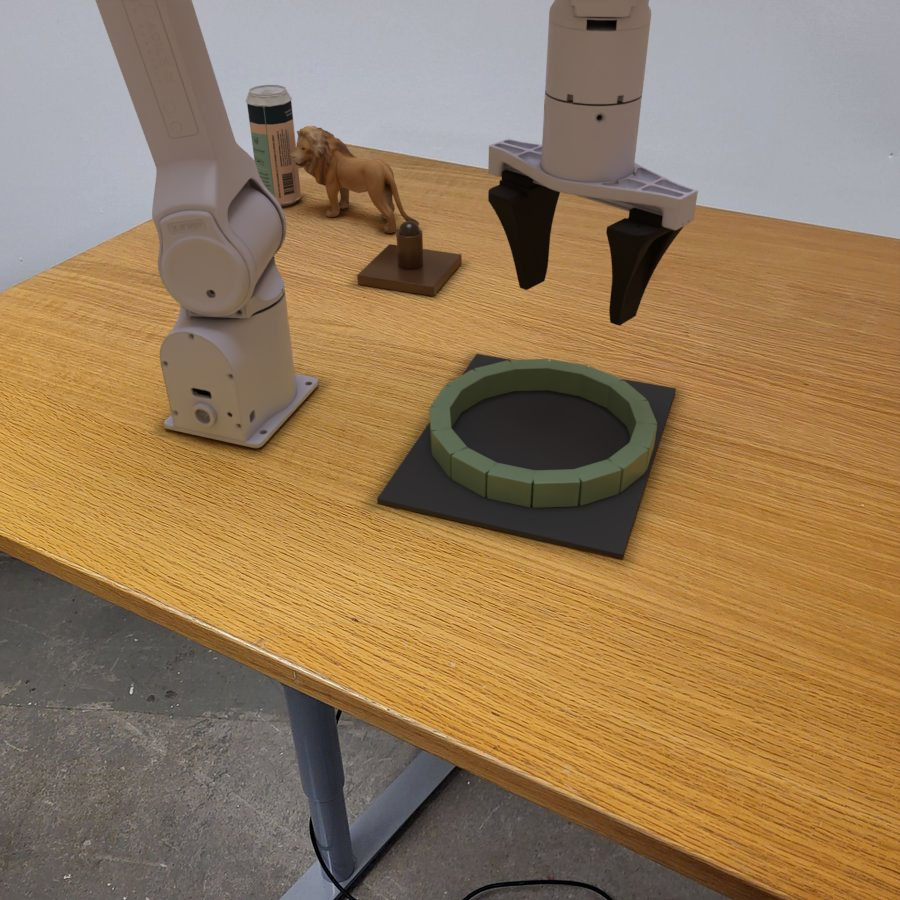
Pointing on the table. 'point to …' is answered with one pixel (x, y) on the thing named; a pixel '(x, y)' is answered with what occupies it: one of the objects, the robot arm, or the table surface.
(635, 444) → the ring
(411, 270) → the peg stand
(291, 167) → the beer can
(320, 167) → the lion figurine
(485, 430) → the mat
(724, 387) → the table surface
